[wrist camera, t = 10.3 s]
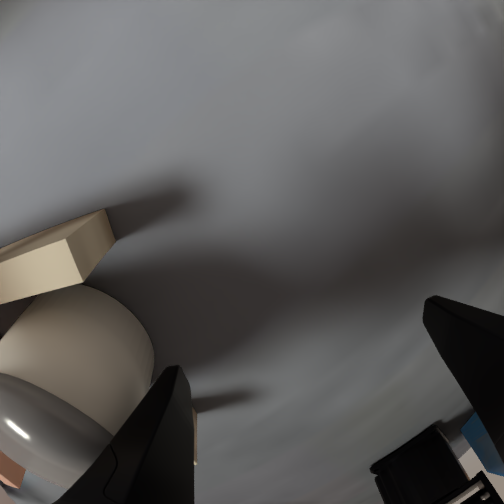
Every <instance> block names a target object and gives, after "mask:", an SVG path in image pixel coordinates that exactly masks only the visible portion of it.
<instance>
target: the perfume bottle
mask: <svg viewBox="0 0 504 504" xmlns="http://www.w3.org/2000/svg"><path fill="white" fill-rule="evenodd" d="M460 431H461V432H462V434H463V435H464V436H465V438H466V440H467V441H468V443H469V444H470V446H471V447H472V449H473V450H474V452H475V453H476V455H477V456H478V458H479V459H480V461H481V463H482V464H483V466H484V467H485V469H486V471H487V472H489V473H493V474H497V475H500V476H504V464H503V462H502V460H501V458H500V456H499V454H498V452H497V450H496V448H495V446H494V444H493V442H492V440H491V438H490V436H489V435H488V433H487V431H486V429H485V427H484V425H483V424H482V422H481V420H480V418H479V417H478V415H477V413H476V412H475V413H474V414H473V415H472V416H471V418H470V419H469V420H468V421H467V422H466V424H465V425H464V426H463V427H462V428H461V429H460Z"/></svg>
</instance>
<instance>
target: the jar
mask: <svg viewBox="0 0 504 504" xmlns="http://www.w3.org/2000/svg"><path fill="white" fill-rule="evenodd" d="M154 359H155V358H154V350H153V346H152V343H151V340H150V338H149V336H148V334H147V332H146V330H145V329H144V327H143V326H142V324H141V323H140V322H139V320H138V319H137V318H136V317H135V316H134V315H133V314H132V313H131V312H130V311H129V310H128V309H127V308H126V307H125V306H124V305H122V304H121V303H120V302H118V301H117V300H116V299H114V298H112V297H111V296H109V295H107V294H105V293H103V292H101V291H99V290H97V289H94V288H92V287H89V286H85V285H81V284H75V285H71V286H67V287H63V288H59V289H56V290H52V291H48V292H44V293H41V294H39V295H38V296H37V297H36V298H35V299H34V301H33V302H32V303H31V304H30V305H29V306H28V307H27V309H26V310H25V311H24V312H23V313H22V314H21V316H20V317H19V318H18V319H17V320H16V322H15V323H14V324H13V325H12V326H11V328H10V329H9V330H8V331H7V333H6V334H5V335H4V336H3V338H2V339H1V340H0V451H2V452H3V453H4V454H5V455H6V456H8V457H9V458H10V459H12V460H13V461H14V462H16V463H17V464H19V465H20V466H22V467H23V468H25V469H26V470H28V471H30V472H31V473H33V474H35V475H37V476H39V477H40V478H42V479H45V480H47V481H49V482H51V483H53V484H56V485H58V486H61V487H64V488H66V489H69V488H70V487H71V486H72V485H73V484H74V483H75V482H76V481H77V480H78V479H79V478H80V477H81V476H82V475H83V474H84V473H85V471H86V470H87V469H88V468H89V467H90V466H91V465H92V464H93V463H94V461H95V460H96V459H97V458H98V456H99V455H100V454H101V453H102V451H103V450H104V449H105V447H106V446H107V445H108V444H110V441H111V440H112V438H113V437H114V436H115V434H116V433H117V432H118V430H119V429H120V428H121V426H122V425H123V424H124V423H125V421H126V420H127V419H128V417H129V416H130V415H131V413H132V412H133V411H134V409H135V408H136V407H137V405H138V404H139V403H140V401H141V400H142V399H143V397H144V396H145V395H146V393H147V392H148V391H149V387H150V382H151V377H152V372H153V367H154Z"/></svg>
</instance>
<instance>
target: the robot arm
mask: <svg viewBox="0 0 504 504" xmlns="http://www.w3.org/2000/svg"><path fill="white" fill-rule="evenodd" d="M423 324H424V326H425V328H426V329H427V331H428V333H429V335H430V337H431V339H432V340H433V342H434V344H435V346H436V348H437V350H438V352H439V354H440V355H441V357H442V359H443V360H444V362H445V363H446V365H447V367H448V368H449V370H450V371H451V373H452V374H453V376H454V377H455V379H456V380H457V382H458V384H459V385H460V387H461V388H462V390H463V392H464V393H465V395H466V396H467V398H468V400H469V401H470V403H471V405H472V406H473V408H474V410H475V412H476V413H477V415H478V417H479V418H480V420H481V422H482V424H483V425H484V427H485V429H486V431H487V433H488V435H489V436H490V438H491V440H492V442H493V444H494V446H495V448H496V450H497V452H498V454H499V456H500V458H501V460H502V462H503V464H504V316H502V315H499V314H495V313H492V312H489V311H486V310H483V309H479V308H476V307H473V306H470V305H466V304H463V303H460V302H457V301H453V300H450V299H447V298H444V297H440V296H437V295H435V296H432V297H429V298H427V299H426V300H425V304H424V311H423ZM448 442H449V440H448V438H447V437H446V436H445V435H444V434H443V433H442V432H441V430H440V429H439V428H438V427H437V426H436V425H434V426H432V427H430V428H429V429H428V430H426V431H425V432H424V433H422V434H421V435H420V436H418V437H417V438H415V439H414V440H413V441H411V442H410V443H408V444H407V445H405V446H404V447H402V448H401V449H399V450H398V451H396V452H395V453H393V454H392V455H390V456H388V457H387V458H385V459H384V460H382V461H380V462H379V463H377V464H375V465H373V466H372V467H371V468H370V471H371V473H373V474H376V475H378V476H376V477H375V482H376V485H377V487H378V489H379V492H380V494H381V496H382V499H383V501H384V504H453V503H454V502H456V501H458V500H459V499H460V498H462V497H463V496H465V495H466V494H468V493H469V492H470V491H472V490H473V489H475V488H476V487H477V486H478V487H479V489H480V490H479V491H478V492H476V493H475V494H473V495H472V496H471V497H469V498H467V499H466V500H465V501H463V502H462V503H460V504H504V502H503V501H502V499H501V498H500V496H499V495H498V493H497V492H496V490H495V489H494V487H493V486H492V484H491V483H490V481H489V480H488V478H487V477H486V475H485V474H484V473H483V471H480V472H479V473H477V474H476V476H475V477H474V478H472V479H471V480H470V479H469V477H468V475H467V473H466V472H465V470H464V468H463V467H462V465H461V463H460V462H459V460H458V458H457V457H456V455H455V453H454V452H453V450H452V449H451V447H450V445H449V444H448ZM483 498H485V499H486V500H482V499H483ZM52 504H194V421H193V411H192V401H191V390H190V385H189V382H188V380H187V378H186V376H185V374H184V372H183V370H182V368H181V367H180V366H179V365H174V366H168V367H166V368H165V370H164V371H163V372H162V374H161V375H160V376H159V378H158V379H157V380H156V382H155V383H154V384H153V386H152V387H151V388H150V390H149V391H148V392H147V393H146V395H145V396H144V397H143V399H142V400H141V401H140V403H139V404H138V405H137V407H136V408H135V409H134V411H133V412H132V413H131V415H130V416H129V417H128V419H127V420H126V421H125V423H124V424H123V425H122V426H121V428H120V429H119V430H118V432H117V433H116V434H115V436H114V437H113V438H112V440H111V441H110V444H108V445H107V446H106V447H105V449H104V450H103V451H102V453H101V454H100V455H99V456H98V458H97V459H96V460H95V461H94V463H93V464H92V465H91V466H90V467H89V468H88V469H87V470H86V471H85V473H84V474H83V475H82V476H81V477H80V478H79V479H78V480H77V481H76V482H75V483H74V484H73V485H72V486H71V487H70V488H69V489H68V490H67V491H66V492H65V493H64V494H63V495H62V496H61V497H60V498H59V499H58V500H57V501H55V502H54V503H52Z"/></svg>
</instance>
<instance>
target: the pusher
mask: <svg viewBox="0 0 504 504" xmlns="http://www.w3.org/2000/svg"><path fill="white" fill-rule="evenodd" d="M25 471H26V469H25V468H23V467H22V466H20V465H19V464H17V463H16V462H14V461H13V460H12V459H10V458H9V457H8V456H6V455H5V454H4V453H3V452H2V451H0V480H1V481H2V482H4V483H5V484H7V485H9V486H12V487H15V488H18V489H20V486H21V483H22V480H23V477H24V474H25Z"/></svg>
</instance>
